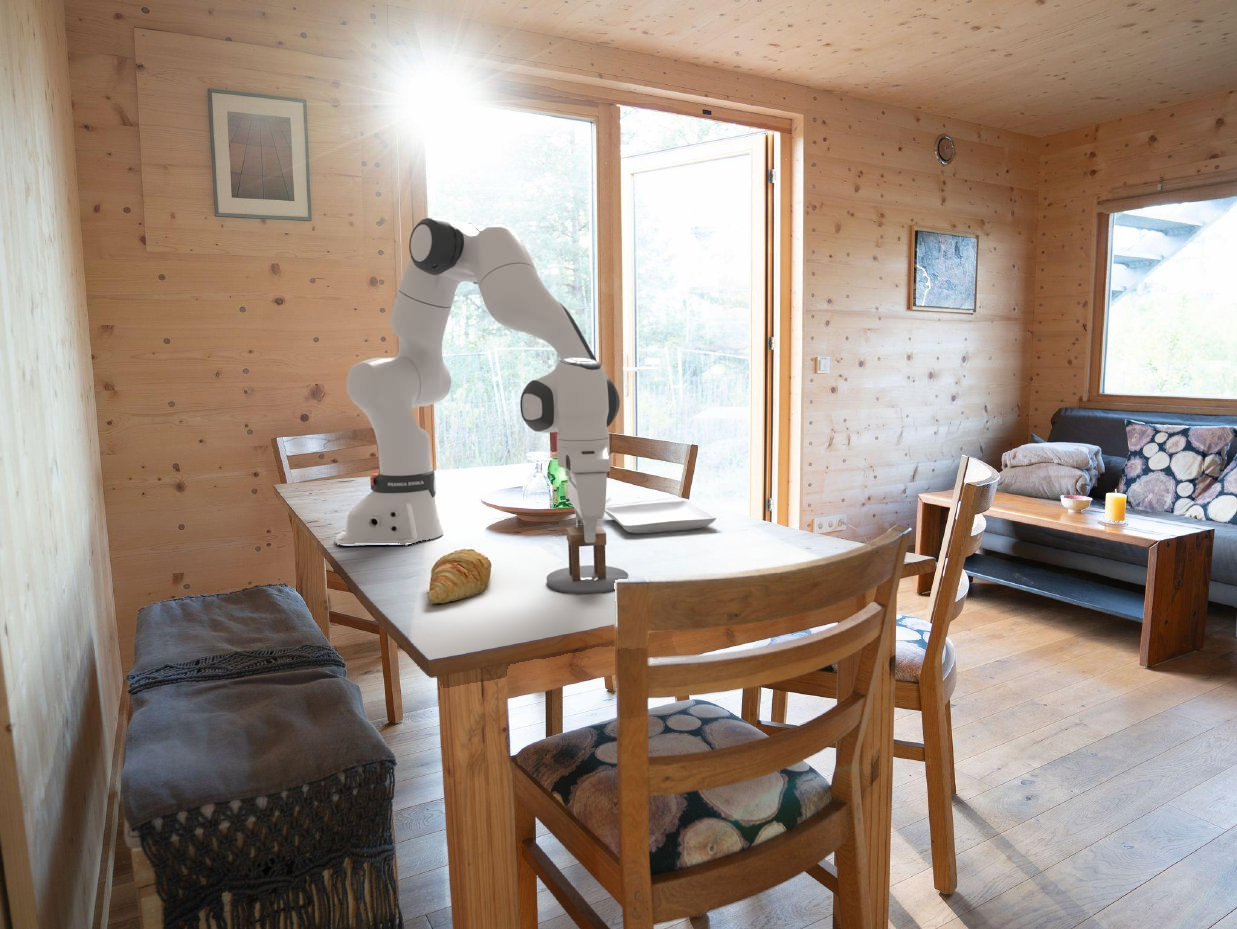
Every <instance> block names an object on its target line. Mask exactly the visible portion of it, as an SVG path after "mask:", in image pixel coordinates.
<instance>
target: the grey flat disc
mask: <svg viewBox="0 0 1237 929" xmlns="http://www.w3.org/2000/svg"><path fill="white" fill-rule="evenodd" d="M627 578H628V579H629V573H628V572H627V571H626V570H624V569H621V568H618V567H613V566H610V565H609V566H608V565H606V579H603V580H599V579H598V573H595V572H594V564H592V565H580V581H575V582H573V580H572V575H570V574H569V566H568V567H563V568H560V569H556V570H554V571H552V572H550V573H548V575H546V586H547V587H548V588H550V589H551V590H553V591H556V592H560V593H565V594H572V595H573V594H577V595H591V594H603V593H607V592H608V593H609V592H612V591H615V589H614V583H615V580H618V579H627Z"/></svg>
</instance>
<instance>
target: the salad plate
mask: <svg viewBox="0 0 1237 929" xmlns="http://www.w3.org/2000/svg"><path fill="white" fill-rule="evenodd" d="M604 514H606V515H607V516H608V517H609V518H611V519H612V520H614V521H615V522H616V523H618V524H619V525H620V526H621V527H622V528H623V529H624V530H625V531H626V532H628V533H631V534H636V535H638V534H639V535H642V533H644V534H653V533H654V534H656V532H657V533H666V532H665V531H670V532H678V531H677V530H682V531H690V529H692V530H697V529H696V528H698V529H701V528H706V527H707V526H710V525H711V524H713V523H714V522H715V521H716V520H717V517H716V516H715V515H713V514H711V513H710V512H709V511H707V510H705V509H703V508H701V507H699V506H698V505H696V504H694V503H693V502H691V501H688V500H677V501H676V500H675V501H673V500H672V501H663V502H649V503H638V504H630V505H629V504H627V505H620V506H608V507H605V513H604Z"/></svg>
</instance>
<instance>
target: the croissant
mask: <svg viewBox="0 0 1237 929" xmlns="http://www.w3.org/2000/svg"><path fill="white" fill-rule="evenodd" d="M491 572H492V562H491V561H490V560H489V558H488V556H485V555H484V554H482V553H481V552H478V551H476V550H475V549H472V548H469V549H465V548H464V549H459V550H454V551H453V552H450V553H448V554H446V555H443V556H442V557H440V558H439V559H437V561H436V562H435V563H434V565H433V566H432V567H431V570H430V573H431V576H430V581H429V592H428V593H427V594H428V600H429V602H430V603H431V604H433V605H434V604H435V605H437V603H441V604H445V603H450V601H452V602H455V601H459V600H462V598H463V599H466V597H467V598H469V596H470V597H473V596H476V595H478V594H481V593H482V592H483V591H485V589H486V587H487V586H488V584H489V583H490V577H491ZM475 594H476V595H475ZM472 595H473V596H472Z"/></svg>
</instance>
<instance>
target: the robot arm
mask: <svg viewBox="0 0 1237 929" xmlns="http://www.w3.org/2000/svg"><path fill="white" fill-rule="evenodd" d="M408 245H409V246H408V249H409V250H408V251H409V254H410V258H409V261H408V262H407V264H406V267H405V268H404V272H403V274H402V278H401V280H400V282H399V283H400V284H399V286H398V289H397V294H396V297H395V301H394V304H393V308H392V311H391V312H392V313H391V315H390V318H389V326H390V329H391V331H392V332H393V334H394V335H395V336H396V337H397V338H398V341H399V346H398V347H399V350H398V353H397V355H396V356H390V357H389V356H388V357H387V356H386V357H372V358H369V359H366V360H362V361H360V362H359V361H358V362H357V363H355V364H354V365H353V366H352V367H351V368H349V371H348V374H347V375H346V376H347V377H346V380H345V381H346V382H345V383H346V384H345V385H346V391H347V395H348V397H349V398H350V400H351V401H352V403H353V404H354V405H356V407H358V408H359V409H360V410H361V411H362V412H363V413H364V414H365V416H366V417H367V419H368V420H369V422H370V425H371V427H372V429H373V432H374V436H375V439H376V444H377V453H378V464H379V473H375V472H374V473H373V474H371V476H370V478H369V480H370V490H371V492H370V493H369V494H367V495H366V496H365V497H364V498H363V499H361V500H360V501H359V502H358V503H357V504H356V505H355V506H353V507H352V508H351V509H350V511H349V512H348V514H347V517H346V522H345V523H346V524H345V530H344V531H342V532H340V533H338V534H337V535H336V536H335V543H336V542H337V543H340V544H355V543H398V544H399V543H400V544H406V543H414V542H418V541H421V540H426V541H428V540H429V539H430V540H433V539H434V540H435V539H437V538H439V537H440V536H442V535H443V534H444V531H443V528H442V524H441V522H440V519H439V513H438V510H437V508H438V507H437V504H436V495H437V494H436V493H437V484H436V476H435V471H434V470H433V460H432V459H433V458H432V442H431V436H430V434H429V433H428V432H427V431H426V430H425V429H424V428H422V427H421V426H420V425H419V424H418V422H417V420H416V418H415V416H414V412H413V408H420V407H428V406H430V405H433V404H435V403H438V402H440V401H442V400H444V399H445V398H446V397H447V396H448V394H449V392H450V390H451V386H452V377H451V373H450V371H449V368H447V366H446V365H445V363H444V360H443V342H444V341H443V340H444V335H445V331H446V327H447V324H448V320H449V316H450V313H451V309H452V306H453V303H454V298H455V294H456V290H457V288H458V286H459V285H460V284H461V283H462V282H469V283H473V284H474V285H478V289H479V291H480V295H481V298H482V301H483V303H484V305H485V307H486V309H487V311H488V313H489V315H490V316H491V317H492V318H493V319H494V320H495V321H496V322H497V323H498V324H500V325H501V326H503V327H506V328H508V329H510V330H513V331H518V332H521V333H525V334H527V335H530V336H533V337H535V338H537V339H539V340H542V341H544V342H545V343H547V344H548V345H550V346H551V347H552V348H553V349H554V350H555V352H556V353H557V355H558V357H559V358H560V360H559V361H558V362H557V364H556V366H555V368H554V369H553V370H552V371H551V372H549V373H547V374H546V375H544V376H541V377H539V378H536V379H533V380H530V381H529V382H528V383H527V384H526V386H525V387H524V388H523V390H522V393H521V396H520V402H519V406H520V415H521V417H522V420H523V422H525V424H526V425H527V426H528V427H529V428H530V429H531V430H532V431H533V432H537V433H543V434H546V433H547V434H548V433H549V434H550V433H557V435H556V452H557V454H556V455H557V458H556V459H557V466H558V467H559V468H563V469H565V476H566V477H567V497H568V499H569V501H570V503H571V504H572V505H573V507H574V515H575V519H576V520H575V522H576V523H575V524H576V526H575V527H584V531H583V532H584V540H585V542H586V543H593V542H595V540H596V538H595V532H596V526H598V520H603V519H604V516H605V514H606V513H605V508H606V504H607V502H606V500H607V483H608V482H607V472H610V471H611V457H610V456H611V454H610V452H611V451H610V450H611V448H610V433H609V430H608V428H609V427H610V426H611V424H613V422H614V420H615V419H616V418H617V415H618V413H619V411H620V406H621V400H620V394H619V392H618V389H617V388H616V386H615V384H614V382H613V381H612V380H611V379H610V377H609V376H608V374H607V373H606V371H605V368H604V366H603V364H602V363H601V362H599V361H598V360H597V358H596V357H595V355H594V353H593V351H592V350H591V348H590V346H589V344H588V341H587V340H586V338H585V337H584V336H583V333H582V332H581V330H580V328H579V326H578V325H577V323H576V321H575V319H574V318H573V316H572V314H571V313H570V311H569V310H568V309H567V307H565V306H564V305H563V304H562V303H560V302H559V301H558V300H557V299H556V298H555V296H553V294H551V292H550V291H549V289H547V287H546V286H545V284H544V282H543V281H542V280H541V278H540V277H539V274H538V272H537V269H536V266H535V264H534V261H533V259H532V257H531V255H530V253H529V252H528V250H527V248H526V246H525V244H524V242H523V241H522V239H521V238H520V237H519V235H518V233H517V232H516V231H515V230H513V229H512V228H511V227H509V226H507V225H506V226H505V225H503V224H494V225H489V226H487V227H482V226H480V225H477V224H473V223H467V222H460V221H455V220H447V219H445V218H442V217H427V218H426V217H425V218H423V219H421V220H420V221H418V223H417V224H416V225H415V227H414V228H413V229H412V232H411V234H410V237H409V242H408ZM421 542H422V541H421ZM418 543H419V542H418Z"/></svg>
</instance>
